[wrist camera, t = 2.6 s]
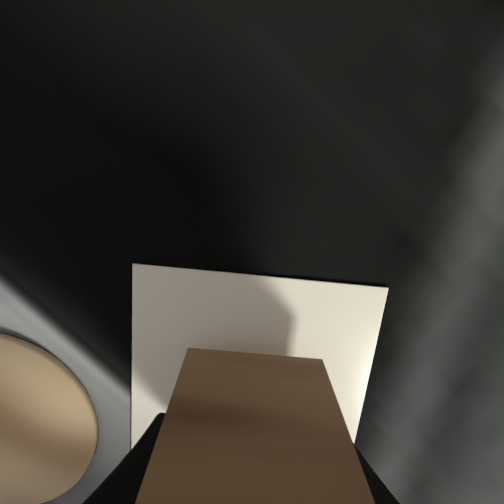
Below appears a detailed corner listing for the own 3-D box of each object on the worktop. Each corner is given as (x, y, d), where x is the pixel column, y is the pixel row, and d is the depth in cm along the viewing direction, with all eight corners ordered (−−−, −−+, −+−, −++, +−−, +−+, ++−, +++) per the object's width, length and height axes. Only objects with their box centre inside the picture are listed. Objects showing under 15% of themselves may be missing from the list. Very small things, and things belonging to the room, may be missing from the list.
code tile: (344, 484, 16) (344, 486, 16) (131, 467, 16) (131, 470, 15) (387, 287, 13) (388, 288, 13) (133, 263, 13) (132, 264, 13)
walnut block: (303, 466, 14) (342, 686, 8) (181, 457, 14) (131, 675, 8) (322, 359, 12) (384, 529, 7) (187, 347, 12) (132, 511, 7)
